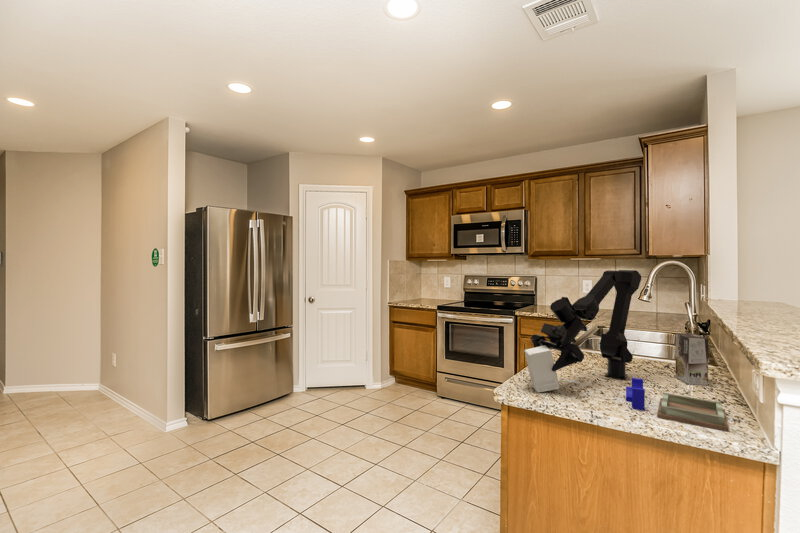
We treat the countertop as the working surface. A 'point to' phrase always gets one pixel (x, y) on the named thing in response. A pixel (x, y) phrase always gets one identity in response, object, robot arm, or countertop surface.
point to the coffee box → (692, 358)
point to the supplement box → (541, 369)
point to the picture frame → (693, 411)
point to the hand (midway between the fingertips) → (541, 366)
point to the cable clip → (636, 394)
